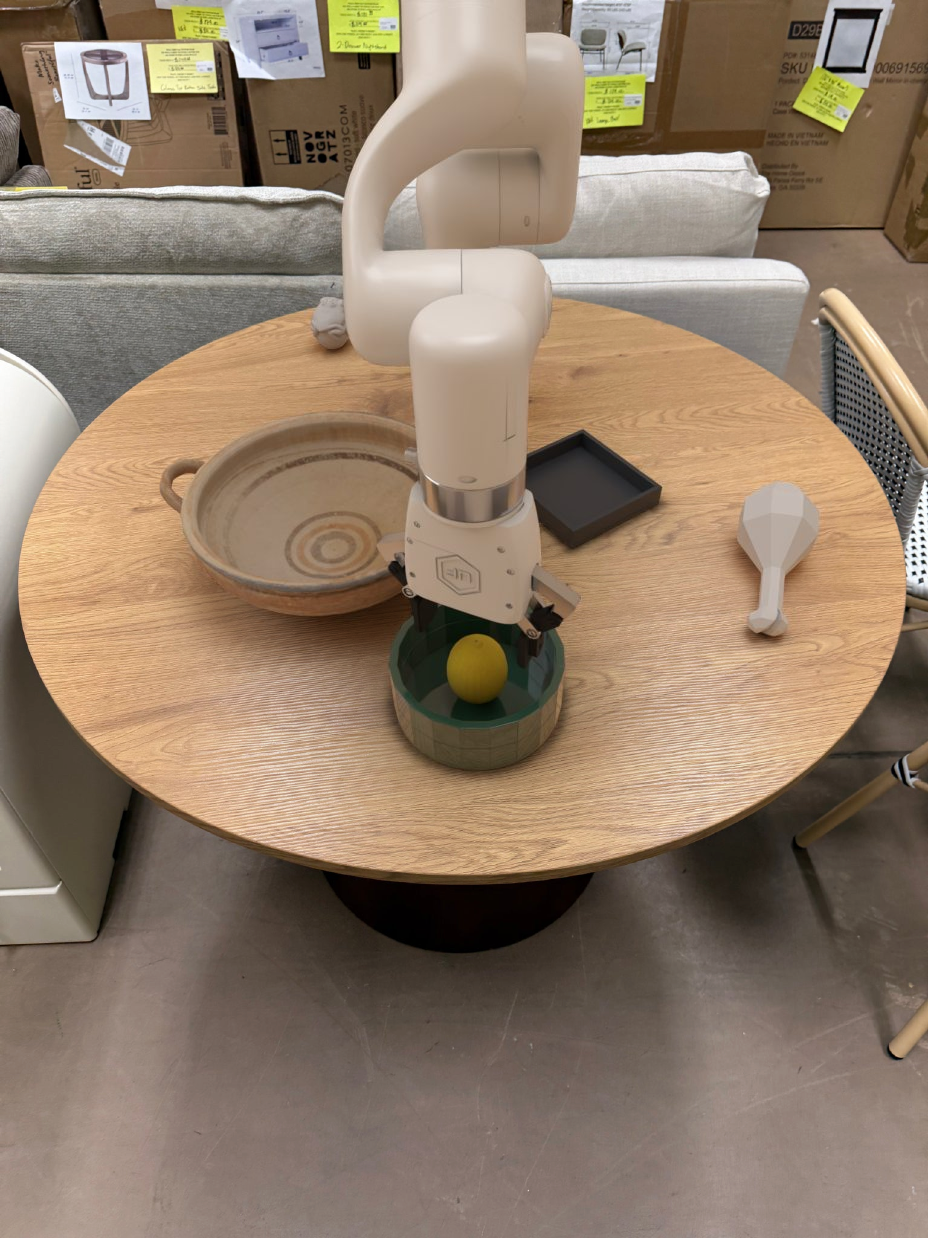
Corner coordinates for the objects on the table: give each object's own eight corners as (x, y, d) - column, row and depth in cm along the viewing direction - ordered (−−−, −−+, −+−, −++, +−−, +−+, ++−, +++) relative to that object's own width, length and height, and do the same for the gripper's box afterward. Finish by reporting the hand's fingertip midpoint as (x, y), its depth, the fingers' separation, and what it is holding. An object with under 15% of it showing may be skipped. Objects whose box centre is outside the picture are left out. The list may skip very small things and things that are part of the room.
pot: (365, 683, 79) (357, 640, 74) (496, 614, 84) (496, 569, 79) (455, 801, 70) (452, 760, 65) (594, 715, 76) (601, 671, 71)
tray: (497, 484, 99) (497, 466, 97) (581, 445, 103) (582, 428, 101) (571, 549, 91) (573, 531, 89) (659, 504, 95) (662, 486, 93)
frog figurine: (363, 337, 123) (357, 293, 118) (342, 360, 119) (335, 315, 113) (327, 331, 125) (320, 287, 119) (305, 354, 120) (297, 309, 115)
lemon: (508, 674, 78) (510, 619, 72) (505, 722, 75) (506, 667, 69) (451, 671, 79) (448, 615, 73) (445, 718, 75) (441, 663, 69)
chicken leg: (707, 635, 83) (758, 600, 76) (724, 499, 91) (772, 456, 84) (777, 664, 84) (833, 633, 77) (787, 528, 93) (839, 488, 86)
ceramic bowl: (119, 620, 85) (83, 550, 78) (242, 458, 103) (222, 389, 96) (457, 693, 78) (454, 623, 70) (526, 505, 96) (529, 434, 88)
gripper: (340, 478, 58) (367, 637, 70) (568, 544, 53) (554, 704, 65) (392, 423, 62) (408, 581, 75) (606, 479, 57) (586, 639, 70)
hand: (476, 638), depth 70 cm, fingers open, 9 cm apart
